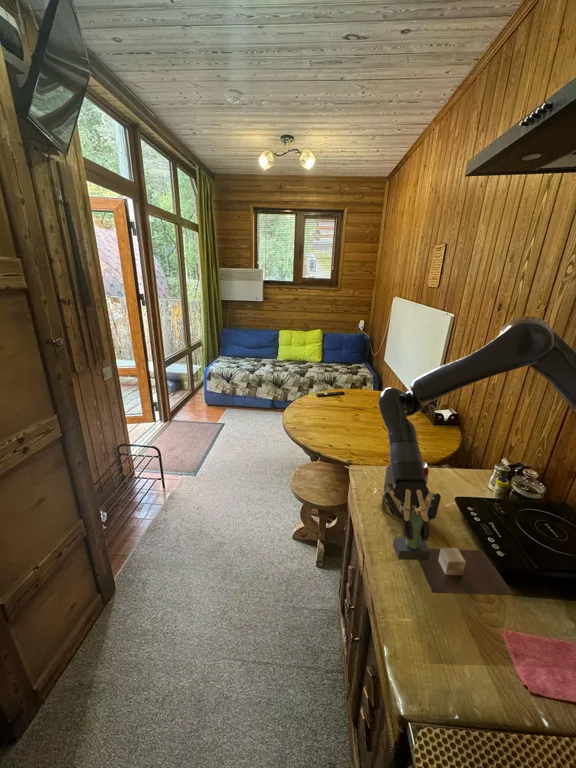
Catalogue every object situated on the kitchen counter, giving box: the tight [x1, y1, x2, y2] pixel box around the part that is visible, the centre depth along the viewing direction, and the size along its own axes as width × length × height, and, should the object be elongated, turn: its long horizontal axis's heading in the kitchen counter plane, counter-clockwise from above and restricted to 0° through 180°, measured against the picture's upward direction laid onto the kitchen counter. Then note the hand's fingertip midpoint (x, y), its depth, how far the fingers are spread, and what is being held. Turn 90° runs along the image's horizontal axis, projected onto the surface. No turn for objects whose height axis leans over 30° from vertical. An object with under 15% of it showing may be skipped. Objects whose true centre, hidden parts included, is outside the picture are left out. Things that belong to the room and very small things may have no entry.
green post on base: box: [392, 514, 430, 561], centre depth 71 cm, size 4×7×10 cm, turn 89°
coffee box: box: [381, 463, 418, 519], centre depth 90 cm, size 9×6×16 cm
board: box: [417, 548, 515, 596], centre depth 74 cm, size 18×12×2 cm, turn 89°
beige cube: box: [438, 547, 466, 575], centre depth 73 cm, size 4×4×4 cm
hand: (417, 539), depth 69 cm, fingers closed on green post on base, 3 cm apart
